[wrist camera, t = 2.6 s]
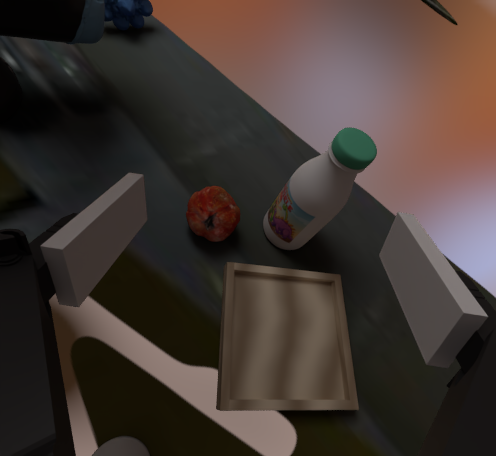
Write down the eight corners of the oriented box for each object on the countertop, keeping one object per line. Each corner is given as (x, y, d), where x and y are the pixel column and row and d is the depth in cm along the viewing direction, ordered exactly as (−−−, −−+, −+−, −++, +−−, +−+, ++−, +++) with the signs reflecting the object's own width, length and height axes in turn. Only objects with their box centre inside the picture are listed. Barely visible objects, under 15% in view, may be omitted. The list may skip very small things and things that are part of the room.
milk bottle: (301, 208, 50) (378, 119, 33) (311, 251, 47) (402, 176, 30) (258, 207, 48) (317, 110, 31) (265, 252, 45) (335, 170, 28)
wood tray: (216, 409, 34) (220, 410, 32) (223, 267, 42) (227, 261, 40) (348, 408, 38) (358, 409, 36) (332, 279, 46) (340, 274, 44)
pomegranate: (191, 207, 47) (162, 226, 38) (217, 170, 45) (193, 181, 35) (228, 236, 48) (208, 262, 38) (255, 202, 45) (242, 220, 36)
